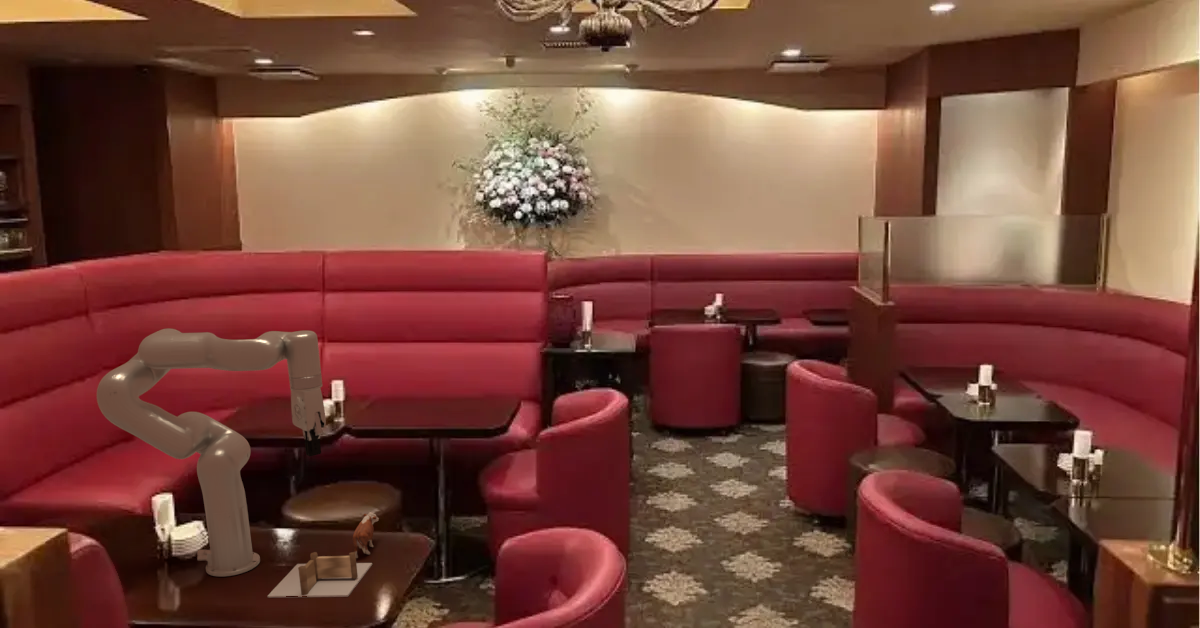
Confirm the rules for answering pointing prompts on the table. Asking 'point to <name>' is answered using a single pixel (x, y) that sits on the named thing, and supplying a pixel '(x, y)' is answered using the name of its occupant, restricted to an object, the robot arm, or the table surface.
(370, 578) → the table surface
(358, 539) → the bull figurine
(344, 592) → the card
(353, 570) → the fence panel
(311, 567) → the fixed fence section
